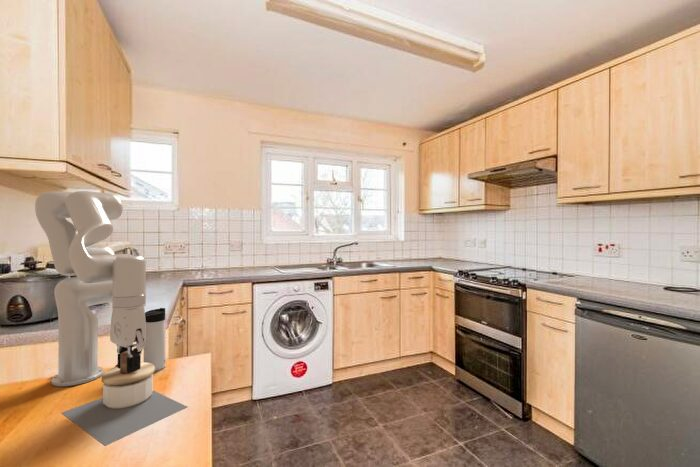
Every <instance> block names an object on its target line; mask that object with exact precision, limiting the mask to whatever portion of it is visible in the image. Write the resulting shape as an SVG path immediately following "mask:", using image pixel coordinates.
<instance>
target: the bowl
mask: <svg viewBox="0 0 700 467" xmlns="http://www.w3.org/2000/svg"><path fill="white" fill-rule="evenodd" d="M102 387H103V388H102V398H103V404H105V405H106V406H107V407H108V408H113V409H119V408H126V407H131V406H134V405H137V404H140V403H142V402H144V401H145V400H147V399H148V398H149V397H150V396H151V395H152V392H153V390H154V373H153V374H152V375H150V376H149V377H147V378H144V379H142V380H139V381H136V382H132V383H127V384H120V385H109V384H105V383H103V384H102Z"/></svg>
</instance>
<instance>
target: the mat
mask: <svg viewBox="0 0 700 467" xmlns="http://www.w3.org/2000/svg"><path fill="white" fill-rule="evenodd" d="M186 408H187V409H188V406H186V405H184V404H183V403H181V402H178V401H177V400H174V399H172V398H170V397H168V396H166V395H164V394H162V393H160V392H157V391H156V390H154V389H153V392H152V395H151V396H150V397H149V398H148V399H147V400H145V401H144V402H142V403H140V404H137V405H134V406H131V407H126V408H119V409H113V408H108V407H107V406H106V405H105V404H103V397H100V398H98V399H96V400H93V401H90V402H87V403H84V404H82V405H78V406H75V407H73V408H70V409H67V410H65V411H62V412H61V414H62V415H63V416H65V417H66V418H67V419H69V420H70V421H72V422H73V423H74V424H75V425H77V426H78V427H79V428H80V429H82V430H83V431H85V432H86V433H87V434H89V435H90V436H91V437H92V438H93V439H95V440H96V441H98V443H101V444H102V446H104V447H106V446H108V445H111V444H112V443H115V442H117V441H119V440H121V439H123V438H125V437H127V436H129V435H130V436H131V435H132V434H134V433H135V432H138V431H140V430H142V429H144V428H147V427H149V426H151V425H153V424H155V423H157V422H159V421H161V420H163V419H165V418H168V417H169V416H172V415H174V414H176V413H178V412H181V411H182V410H185V409H186Z"/></svg>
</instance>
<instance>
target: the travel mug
mask: <svg viewBox="0 0 700 467" xmlns="http://www.w3.org/2000/svg"><path fill="white" fill-rule="evenodd" d="M145 320H146V340H145V342H144V344H145V348H144V349H143V362H146V363H151V364H153V365H154V366H155V371H154V373H156V372H160V371H163V370H164V369H165V368H166V330H167V328H166V307H164V308H163V307H160V308H156V309H150V310H147V311H145Z"/></svg>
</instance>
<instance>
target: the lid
mask: <svg viewBox="0 0 700 467" xmlns="http://www.w3.org/2000/svg"><path fill="white" fill-rule="evenodd" d="M132 351H133V349H132ZM127 357H128V351H125V352H122V353H121V354H120V369H119V368H118V366H117V367H115V366H114V367H112V368H109V369H108V370H106V371H105V372H103V374H102V375H101V383H103V384H104V383H105V384H109V385H120V384H127V383H132V382H136V381H139V380H142V379H144V378H147V377H149V376H150V375H152V374H153V375H154V373H155V372H154V371H155V366H154V365H153V364H151V363H146V362H144V361H143V362H141V368H140V369H139V370H136V371H133V372H130V373H128V372H127Z"/></svg>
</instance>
